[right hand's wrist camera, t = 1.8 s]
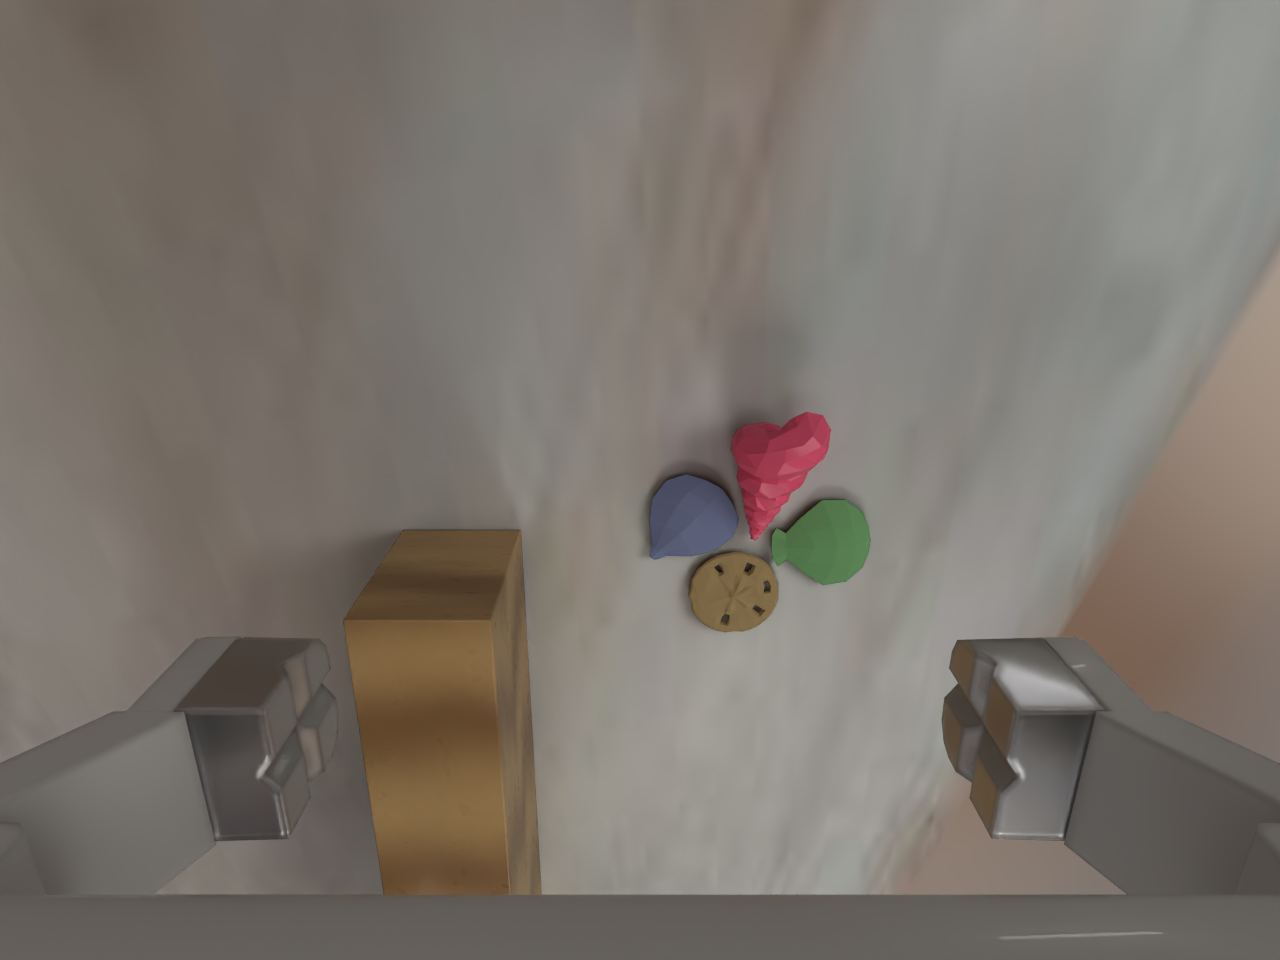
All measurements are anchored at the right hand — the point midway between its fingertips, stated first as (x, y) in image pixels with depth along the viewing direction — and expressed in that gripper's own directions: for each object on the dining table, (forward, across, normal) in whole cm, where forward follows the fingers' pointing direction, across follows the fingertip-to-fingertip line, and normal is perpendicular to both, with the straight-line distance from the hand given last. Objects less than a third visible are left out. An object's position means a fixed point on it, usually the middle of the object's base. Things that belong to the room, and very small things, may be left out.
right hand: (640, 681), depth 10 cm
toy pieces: (+29, +6, -10) cm, 31 cm away
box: (+29, -9, -24) cm, 39 cm away
